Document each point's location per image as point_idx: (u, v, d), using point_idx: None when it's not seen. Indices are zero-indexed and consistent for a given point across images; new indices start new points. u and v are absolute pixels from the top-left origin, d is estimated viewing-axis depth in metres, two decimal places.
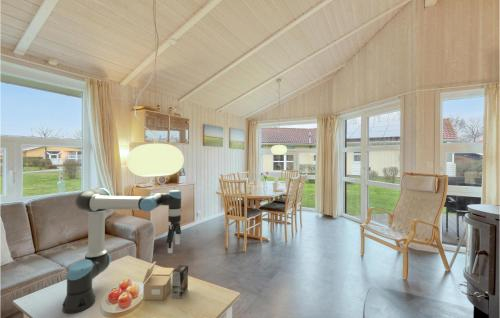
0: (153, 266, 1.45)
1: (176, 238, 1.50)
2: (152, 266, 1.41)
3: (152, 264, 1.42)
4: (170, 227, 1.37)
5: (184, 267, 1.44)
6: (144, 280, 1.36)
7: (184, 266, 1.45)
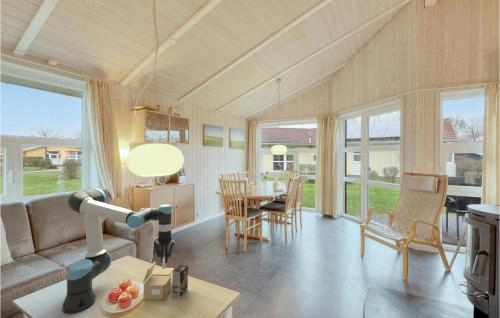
0: (153, 266, 1.45)
1: None
2: (152, 266, 1.41)
3: (152, 264, 1.42)
4: None
5: (184, 267, 1.44)
6: (144, 280, 1.36)
7: (184, 266, 1.45)
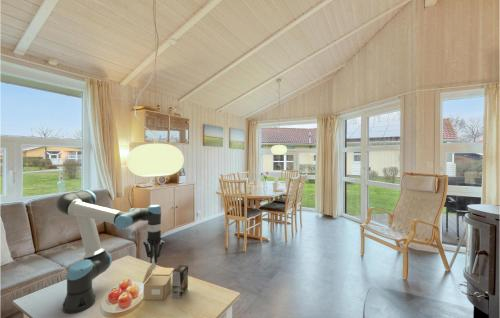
0: None
1: None
2: None
3: None
4: None
5: (184, 267, 1.44)
6: (144, 280, 1.36)
7: (184, 266, 1.45)
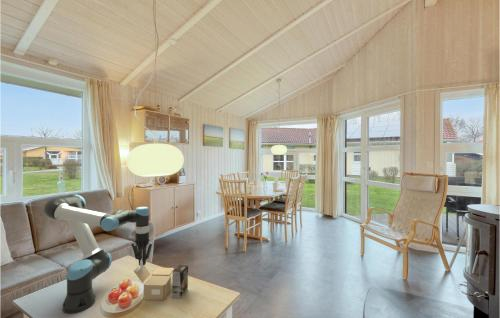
0: None
1: None
2: (139, 267, 1.41)
3: (138, 266, 1.42)
4: None
5: (184, 267, 1.44)
6: (141, 280, 1.36)
7: (184, 266, 1.45)
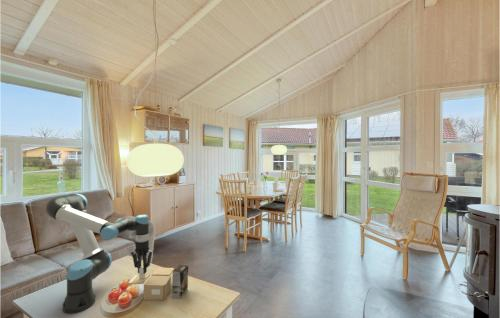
0: (138, 276, 1.44)
1: None
2: (132, 278, 1.41)
3: (132, 279, 1.42)
4: None
5: (184, 267, 1.44)
6: (140, 283, 1.36)
7: (184, 266, 1.45)
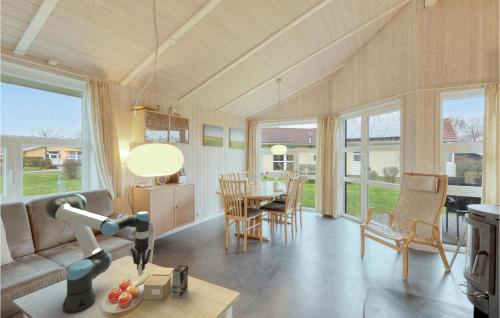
0: (139, 280, 1.44)
1: None
2: (134, 284, 1.41)
3: None
4: None
5: (184, 267, 1.44)
6: (140, 284, 1.36)
7: (184, 266, 1.45)
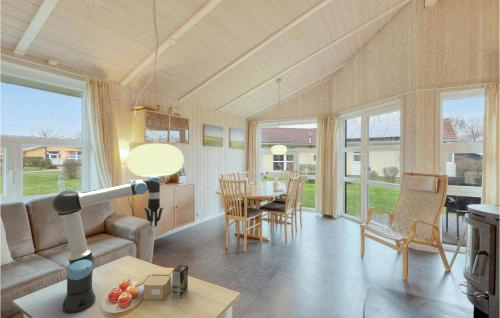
0: (139, 280, 1.44)
1: None
2: None
3: None
4: None
5: (184, 267, 1.44)
6: (140, 284, 1.36)
7: (184, 266, 1.45)
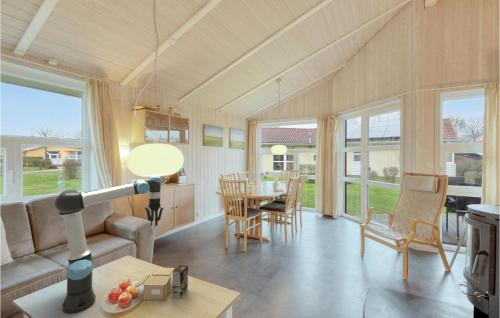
0: (139, 280, 1.44)
1: None
2: None
3: None
4: None
5: (184, 267, 1.44)
6: (140, 284, 1.36)
7: (184, 266, 1.45)
